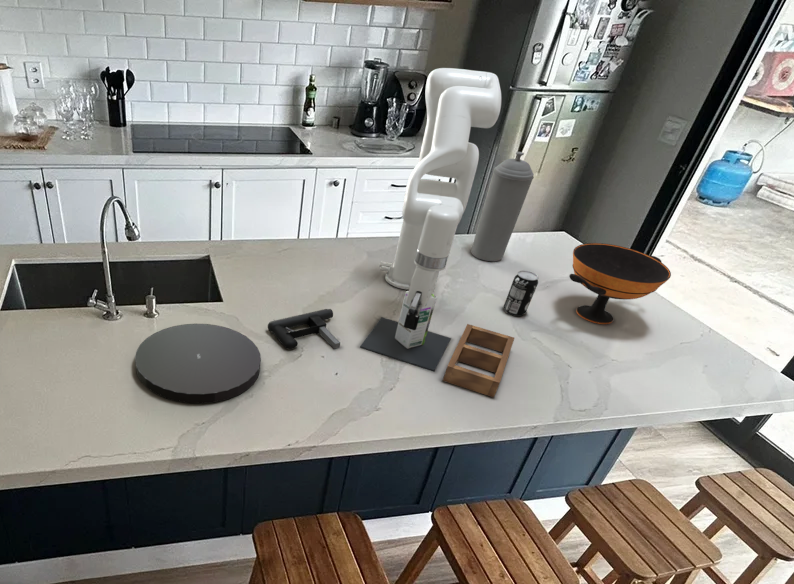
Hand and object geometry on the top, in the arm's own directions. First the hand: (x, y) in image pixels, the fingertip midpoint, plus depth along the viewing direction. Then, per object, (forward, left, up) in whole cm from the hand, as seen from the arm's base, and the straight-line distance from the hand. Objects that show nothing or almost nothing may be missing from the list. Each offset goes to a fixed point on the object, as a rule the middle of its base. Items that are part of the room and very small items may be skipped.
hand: (414, 320), depth 150 cm
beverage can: (+23, +35, -7) cm, 43 cm away
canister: (+8, +72, -7) cm, 73 cm away
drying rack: (+19, -1, -7) cm, 20 cm away
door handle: (-24, -12, -7) cm, 28 cm away
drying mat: (0, -1, -7) cm, 7 cm away
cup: (+45, +47, -7) cm, 65 cm away
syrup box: (0, 0, -7) cm, 7 cm away
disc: (-41, -40, -7) cm, 58 cm away
